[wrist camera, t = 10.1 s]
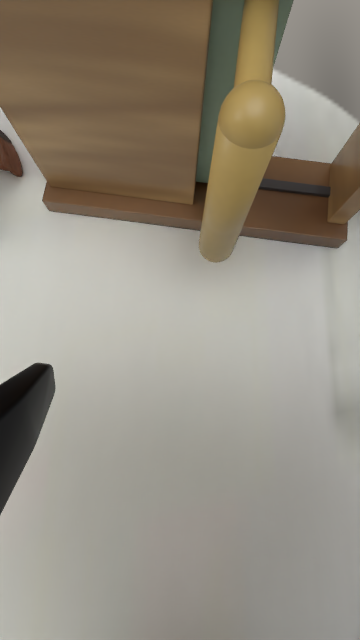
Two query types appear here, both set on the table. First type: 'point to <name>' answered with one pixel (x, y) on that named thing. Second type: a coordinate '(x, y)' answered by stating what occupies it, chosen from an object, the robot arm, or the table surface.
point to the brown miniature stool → (9, 156)
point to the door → (238, 115)
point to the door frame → (145, 120)
